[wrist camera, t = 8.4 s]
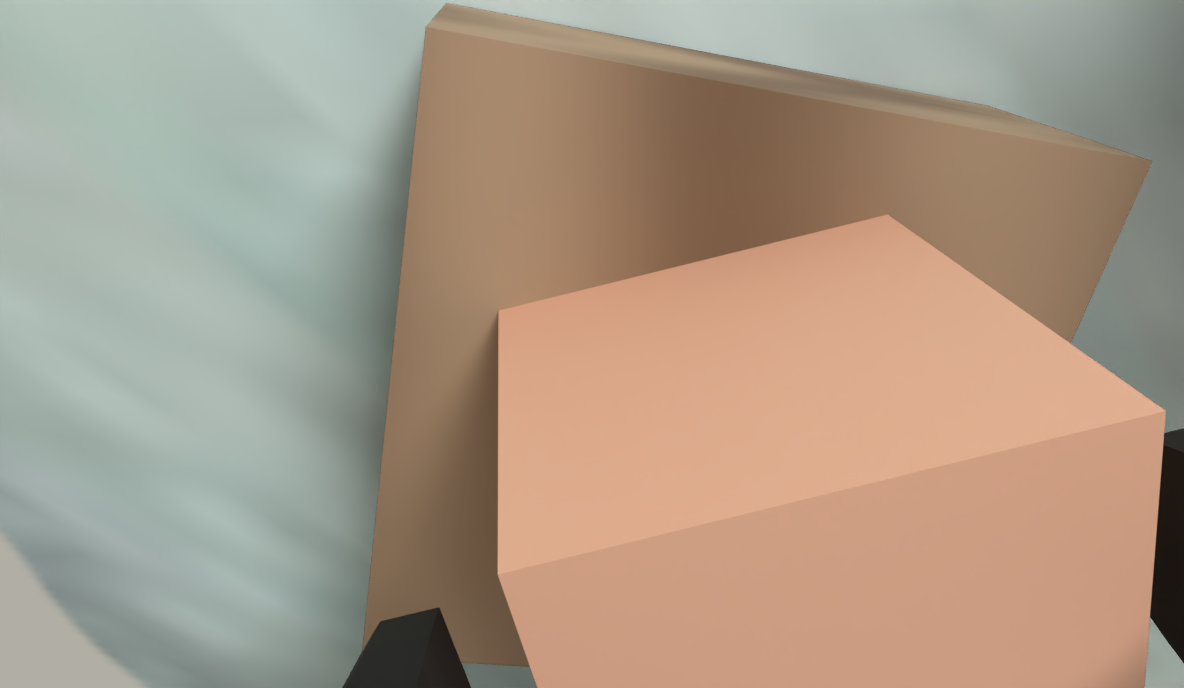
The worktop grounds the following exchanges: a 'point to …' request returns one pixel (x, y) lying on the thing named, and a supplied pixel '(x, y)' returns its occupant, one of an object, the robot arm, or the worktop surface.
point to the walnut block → (663, 236)
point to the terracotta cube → (820, 480)
